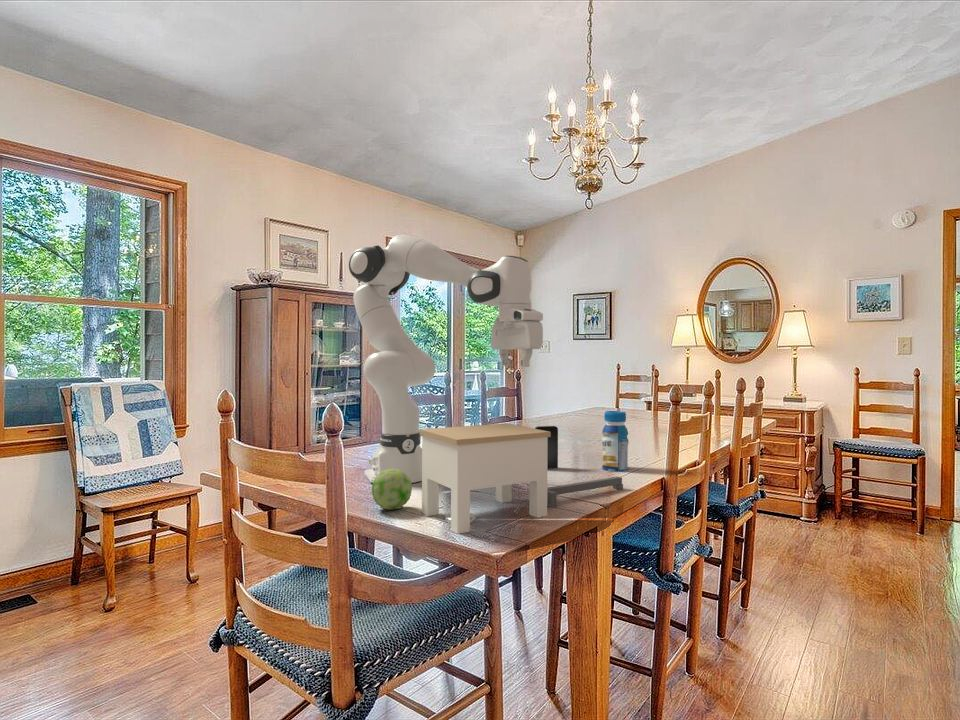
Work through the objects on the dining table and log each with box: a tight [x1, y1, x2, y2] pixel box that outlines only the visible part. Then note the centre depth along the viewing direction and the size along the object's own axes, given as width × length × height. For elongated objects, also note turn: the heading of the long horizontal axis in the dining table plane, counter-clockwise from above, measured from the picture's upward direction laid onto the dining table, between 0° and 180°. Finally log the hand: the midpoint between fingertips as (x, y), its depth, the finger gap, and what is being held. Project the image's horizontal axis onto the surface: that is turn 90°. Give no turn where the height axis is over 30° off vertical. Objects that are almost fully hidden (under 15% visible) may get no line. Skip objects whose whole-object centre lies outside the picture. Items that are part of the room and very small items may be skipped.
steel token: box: [444, 512, 476, 525], centre depth 129 cm, size 7×7×1 cm
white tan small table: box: [419, 422, 551, 535], centre depth 132 cm, size 19×25×20 cm
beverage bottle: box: [601, 410, 629, 473], centre depth 180 cm, size 8×8×20 cm
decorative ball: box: [371, 469, 413, 511], centre depth 137 cm, size 10×10×10 cm
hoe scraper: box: [547, 476, 624, 509], centre depth 148 cm, size 28×9×4 cm, turn 121°
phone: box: [534, 425, 559, 470], centre depth 182 cm, size 8×1×15 cm, turn 103°
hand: (515, 366), depth 151 cm, fingers open, 8 cm apart
